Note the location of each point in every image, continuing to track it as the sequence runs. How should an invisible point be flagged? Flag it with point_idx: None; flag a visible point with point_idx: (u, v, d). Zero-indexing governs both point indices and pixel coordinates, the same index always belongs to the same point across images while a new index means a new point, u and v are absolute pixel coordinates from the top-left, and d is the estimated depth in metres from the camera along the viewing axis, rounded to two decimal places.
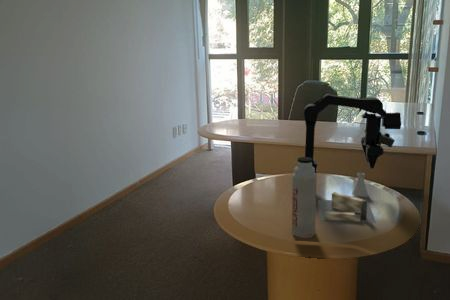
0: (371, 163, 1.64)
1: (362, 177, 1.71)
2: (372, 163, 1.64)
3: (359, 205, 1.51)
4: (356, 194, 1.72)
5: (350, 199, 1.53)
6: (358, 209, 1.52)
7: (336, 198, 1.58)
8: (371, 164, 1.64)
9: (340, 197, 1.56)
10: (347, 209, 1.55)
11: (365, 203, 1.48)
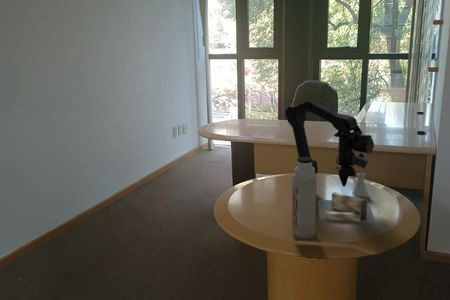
0: (342, 180, 1.61)
1: (362, 177, 1.71)
2: (344, 181, 1.61)
3: (359, 205, 1.51)
4: (356, 194, 1.72)
5: (350, 199, 1.53)
6: (358, 209, 1.52)
7: (336, 198, 1.58)
8: (343, 182, 1.62)
9: (340, 197, 1.56)
10: (347, 209, 1.55)
11: (365, 203, 1.48)
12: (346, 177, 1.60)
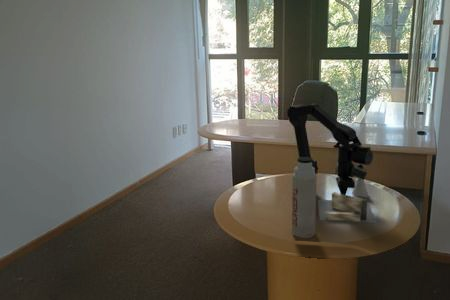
0: (342, 191, 1.62)
1: None
2: (343, 192, 1.62)
3: (359, 205, 1.51)
4: (356, 194, 1.72)
5: (350, 199, 1.53)
6: (358, 209, 1.52)
7: (336, 198, 1.58)
8: (342, 193, 1.62)
9: (340, 197, 1.56)
10: (347, 209, 1.55)
11: (365, 203, 1.48)
12: (345, 188, 1.61)
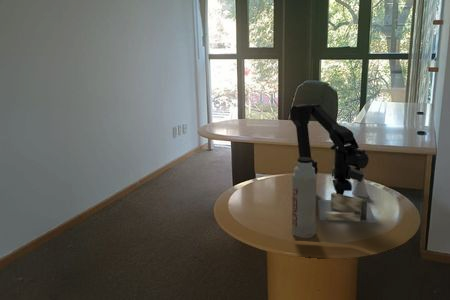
0: None
1: None
2: None
3: (359, 205, 1.51)
4: (356, 194, 1.72)
5: (350, 199, 1.53)
6: (358, 209, 1.52)
7: (336, 199, 1.57)
8: None
9: (339, 197, 1.56)
10: (347, 209, 1.55)
11: (365, 203, 1.48)
12: (342, 190, 1.58)
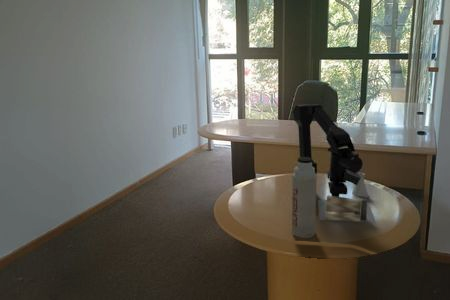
0: None
1: (362, 177, 1.71)
2: None
3: (358, 206, 1.51)
4: (356, 194, 1.72)
5: (348, 201, 1.52)
6: (357, 210, 1.51)
7: (332, 201, 1.55)
8: None
9: (336, 200, 1.54)
10: (344, 211, 1.54)
11: (365, 203, 1.48)
12: (338, 193, 1.56)
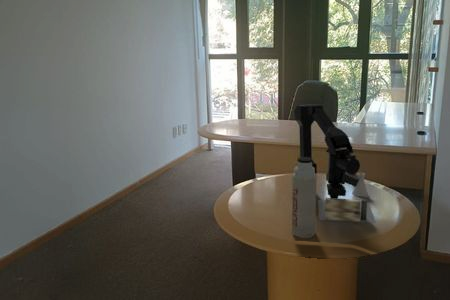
0: None
1: (362, 177, 1.71)
2: None
3: (358, 206, 1.50)
4: (356, 194, 1.72)
5: (347, 202, 1.51)
6: (356, 210, 1.51)
7: (331, 203, 1.53)
8: None
9: (335, 201, 1.52)
10: None
11: (365, 203, 1.48)
12: (336, 195, 1.54)
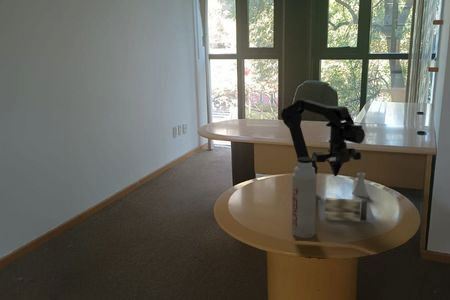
0: (332, 169, 1.63)
1: (362, 177, 1.71)
2: (332, 170, 1.63)
3: (358, 206, 1.50)
4: (356, 194, 1.72)
5: (347, 202, 1.51)
6: (356, 210, 1.51)
7: (331, 203, 1.53)
8: (332, 171, 1.63)
9: (335, 201, 1.52)
10: None
11: (365, 203, 1.48)
12: (333, 166, 1.61)
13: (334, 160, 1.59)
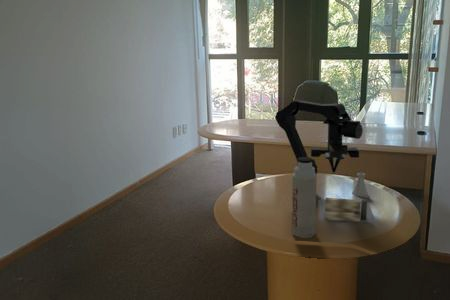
0: None
1: (362, 177, 1.71)
2: (331, 166, 1.66)
3: (358, 206, 1.50)
4: (356, 194, 1.72)
5: (347, 202, 1.51)
6: (356, 210, 1.51)
7: (331, 203, 1.53)
8: (331, 167, 1.66)
9: (335, 201, 1.52)
10: None
11: (365, 203, 1.48)
12: None
13: None
